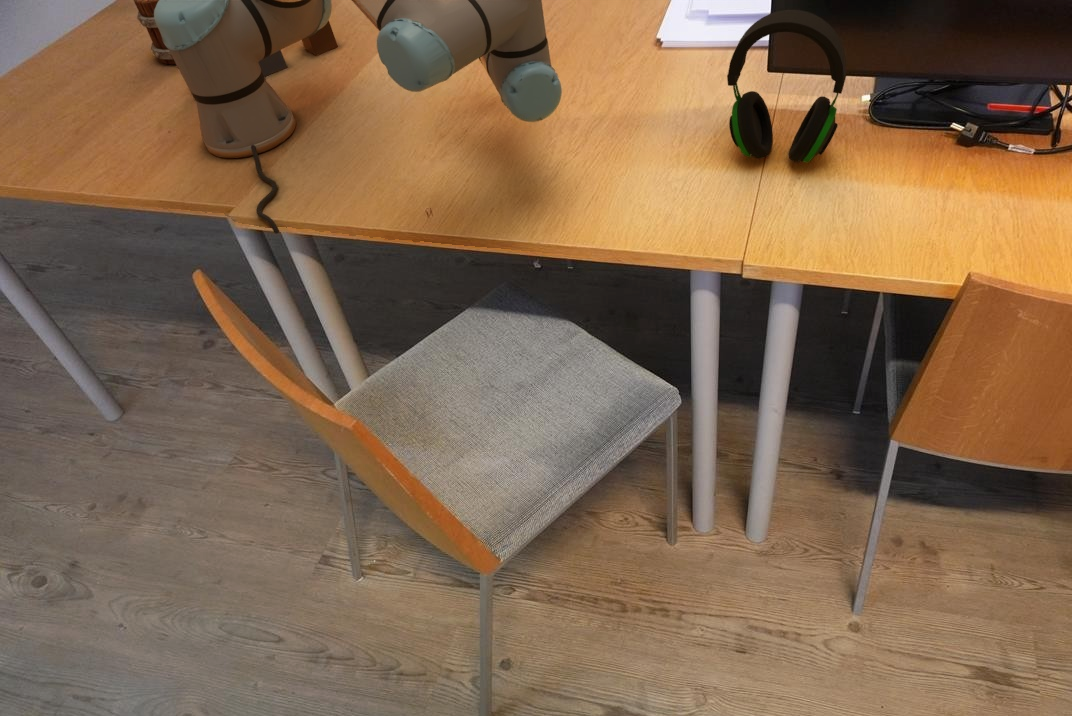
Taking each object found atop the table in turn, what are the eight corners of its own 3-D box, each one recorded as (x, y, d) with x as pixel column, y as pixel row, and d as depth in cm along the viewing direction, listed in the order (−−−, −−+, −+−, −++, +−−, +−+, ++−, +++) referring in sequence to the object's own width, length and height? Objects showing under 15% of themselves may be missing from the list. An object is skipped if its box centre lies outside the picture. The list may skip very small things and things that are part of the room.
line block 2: (338, 47, 154) (320, -6, 146) (315, 56, 152) (296, 3, 144) (327, 39, 156) (308, -13, 149) (304, 48, 155) (284, -4, 147)
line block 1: (288, 67, 150) (266, 14, 142) (264, 77, 148) (241, 24, 140) (277, 59, 152) (255, 7, 145) (253, 69, 151) (230, 16, 143)
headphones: (828, 178, 109) (849, 35, 94) (719, 167, 113) (722, 29, 98) (837, 143, 114) (859, 2, 99) (733, 134, 119) (738, -2, 104)
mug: (139, 63, 157) (107, -19, 147) (194, 44, 167) (167, -34, 157) (182, 69, 153) (152, -15, 143) (235, 49, 163) (210, -31, 153)
